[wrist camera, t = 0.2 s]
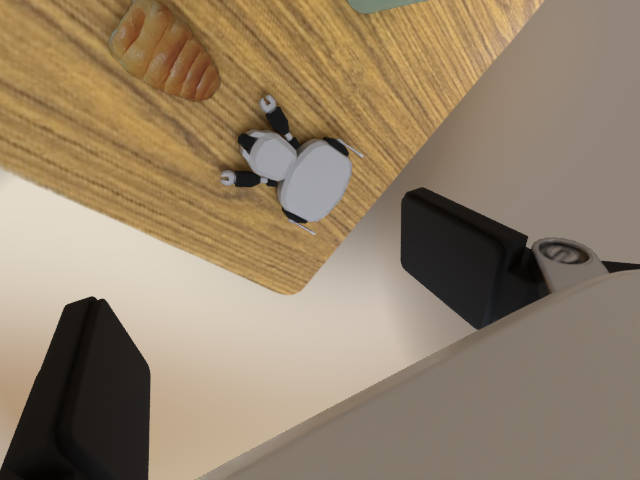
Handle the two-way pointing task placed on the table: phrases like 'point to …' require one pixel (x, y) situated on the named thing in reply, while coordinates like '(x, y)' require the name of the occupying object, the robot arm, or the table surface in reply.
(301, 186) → the robot toy
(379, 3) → the bottle
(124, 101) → the table surface
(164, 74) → the pastry
